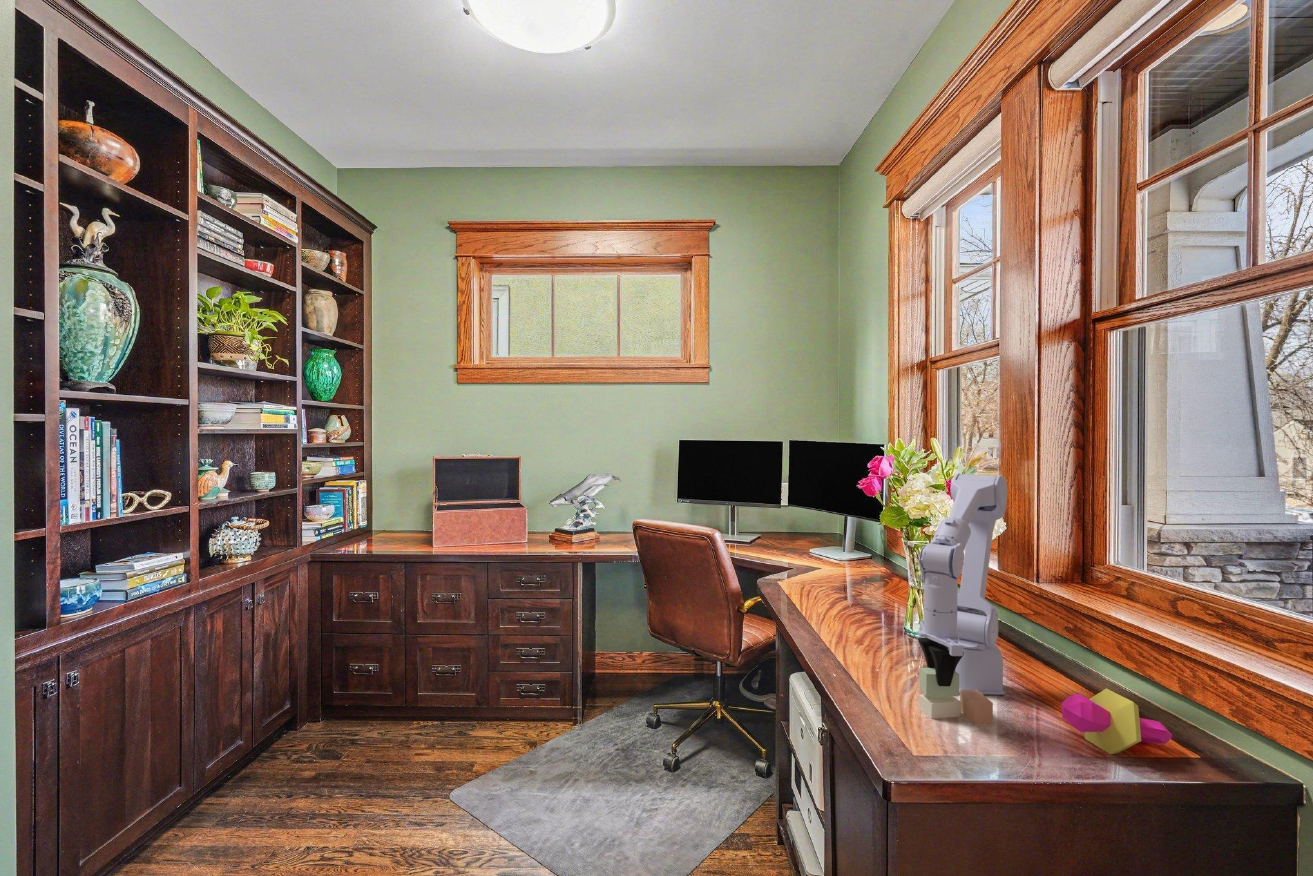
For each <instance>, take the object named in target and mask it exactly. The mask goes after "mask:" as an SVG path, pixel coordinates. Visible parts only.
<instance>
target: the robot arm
mask: <svg viewBox="0 0 1313 876" xmlns="http://www.w3.org/2000/svg"><path fill="white" fill-rule="evenodd" d="M1008 491H1009V490H1008V483H1007V480H1006V477H1004V475H1001V474H998V475H986V474H984V475H983V474H968V473H967V474H962V473H955V475H954V476H953V477H952V478H951V481H950V494H951V498H952V501H953V504H952V507H951V510H950V514H949V517H945V518H943V519H941V521H940V522H939V525H938V526H937V529H936V531H935V533H934V534H933V538H932V539H931V542H930V543H927V544H926V545H923V546H922V547H921V549H920V551H919V555H918V556H919V557H918V564H919V565H918V566H919V571H920V575H921V576H920V580H921V583H923V620H920V621H919V630H917V631H916V632H917V633H916V635H918V637H919V638H918V639H917V642H918V644H919V646H920V648H921V650H922V651H923V656H924V659H925V663H926V668H935V672H936V679H937V683H938V685H939V686H950V685H951V682H952V679H953V675H954V672H955V671H956V672H957V673H958V674H959V695H960V689H965V690H978V691H979V692H981V693H982V694H983V695H998V696H999V695H1005V691H1004V659H1003V655H1002V652H1001V650H1000V648H999V647H998V646H997V645H996V644H997V641H998V637H999V613H998V610H997V608H996V607H995V606H994V605H993V604H992V603H990V601H988V600H987V598H986V591H987V583H988V574H989V568H990V567H989V566H990V560H991V559H990V558H991V551H992V543H993V534H994V529H995V526H996V522H997V520H1000V519H1002V518H1004V517H1005V513H1006V509H1007V502H1008ZM960 576H961V578H960V579H961V581H960V587H959V588H958V583H959V582H958V581H959V580H958V578H959V577H960ZM958 589H959V592H958Z"/></svg>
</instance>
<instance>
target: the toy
mask: <svg viewBox="0 0 1313 876" xmlns="http://www.w3.org/2000/svg"><path fill="white" fill-rule="evenodd" d="M1061 718H1063V719H1064V720H1065V721H1066V722H1067V723H1069V724H1070V726H1072V727H1074V728H1075V729H1076V730H1077V731H1079V732H1080V733H1084V739H1085V740H1086V741H1088V742H1089V743H1092V744H1093V745H1095V746H1096V747H1098V748H1099V749H1101V750H1102V751H1104V752H1106V753H1107V754H1109V755H1115V754H1117V755H1118V754H1119V753H1121V752H1123V751H1125V750H1127V749H1129V748H1131V747H1132V746H1134V745H1136V744H1139V743H1143V744H1144V743H1145V744H1162V745H1166V744H1167V743H1168V742H1170V741H1171V739H1172V738H1173V737H1174V736H1173V734H1172V733H1171V732H1170V731H1169V730H1168V728H1167V727H1166V726H1165V725H1164V724H1163V723H1162V722H1160V721H1158V720H1152V719H1147V718H1142V717H1140V710H1139V705H1138V704H1137V703H1135V702H1134V701H1132V700H1131V699H1128V698H1126V697H1124V696H1122V695H1121V694H1118V693H1116V692H1114V691H1112V690H1110V689H1109V688H1105V689H1103V690H1102V691H1100V692H1098V693H1097V694H1095V695H1094V696H1092V697H1090V698H1088V697H1086V696H1084V695H1083V694H1080V693H1075V694H1071V695H1069V696H1068V697H1067V698H1066V699H1064V701H1062V702H1061Z"/></svg>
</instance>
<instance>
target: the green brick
mask: <svg viewBox="0 0 1313 876" xmlns="http://www.w3.org/2000/svg"><path fill="white" fill-rule="evenodd" d="M919 690H920V691H921V692H922V693H923V695H924V694H925V695H926V696H953V697H960V694H959V674H958V673H957V672H956V671H955V672H954V675H953V679H952V682H951V685H950V686H939V685H938V683H937V679H936V672H935V668H927V667H919Z"/></svg>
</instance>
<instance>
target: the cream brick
mask: <svg viewBox="0 0 1313 876" xmlns="http://www.w3.org/2000/svg"><path fill="white" fill-rule="evenodd" d="M918 711H920V712H921V713H923V714H924V715H926V716H927V717H929V718H930V719H931V720H936V719H945V718H947V719H948V718H958V717H962V711H961V701H960V699H958V698H956V696H926V695H925V694H924V693H923V694H918Z"/></svg>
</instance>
